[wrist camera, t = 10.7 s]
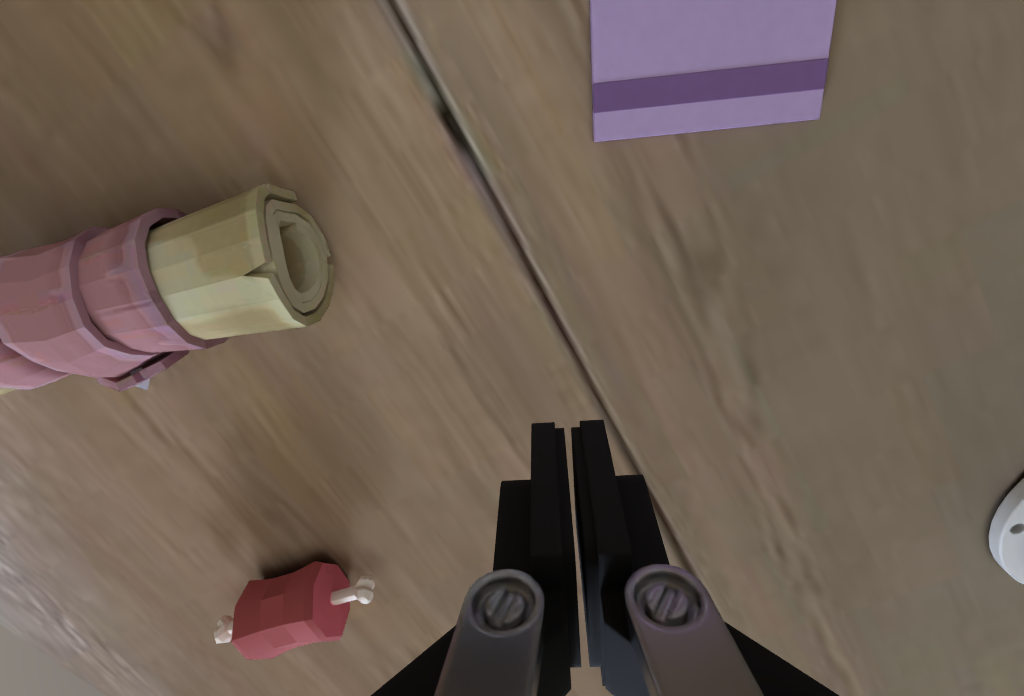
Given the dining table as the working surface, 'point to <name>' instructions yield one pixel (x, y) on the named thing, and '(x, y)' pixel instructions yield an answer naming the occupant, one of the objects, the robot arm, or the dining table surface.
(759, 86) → the cloth
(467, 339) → the dining table surface
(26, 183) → the dining table surface
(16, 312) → the scroll
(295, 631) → the meat
